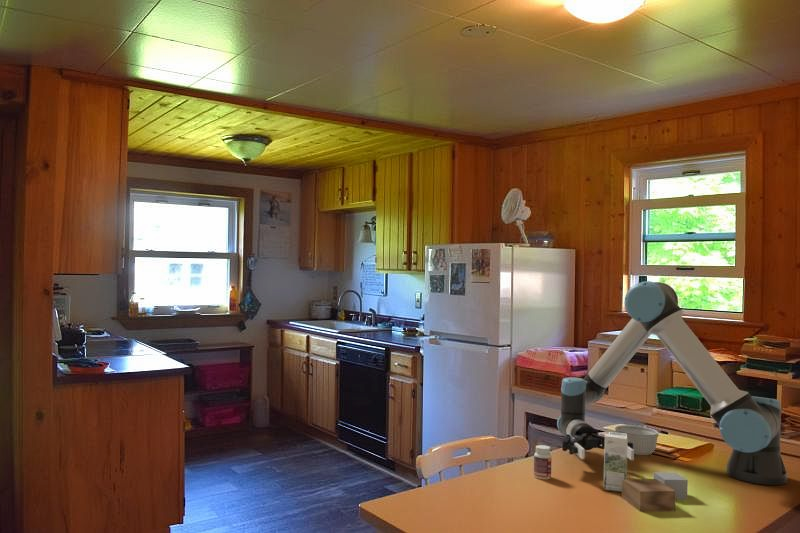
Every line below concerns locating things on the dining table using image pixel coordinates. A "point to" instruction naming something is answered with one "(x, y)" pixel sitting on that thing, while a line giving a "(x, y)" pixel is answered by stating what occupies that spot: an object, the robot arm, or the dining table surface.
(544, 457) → the pill bottle
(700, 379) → the robot arm
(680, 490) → the grey block
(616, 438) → the syrup box
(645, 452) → the ramekin
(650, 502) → the walnut block
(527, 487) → the dining table surface
